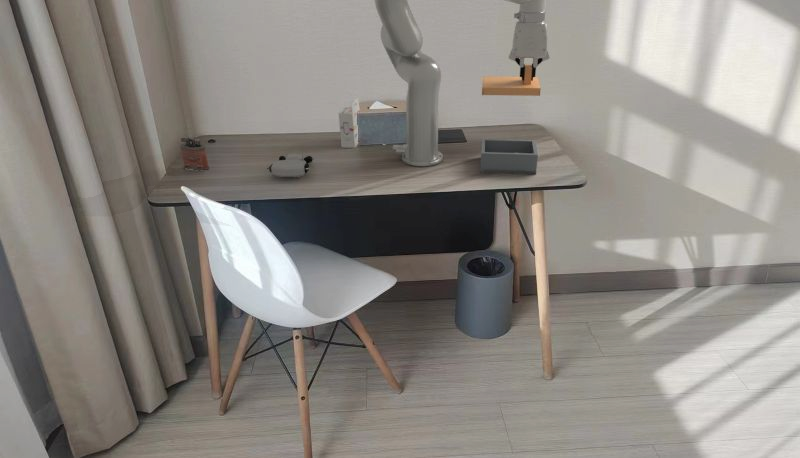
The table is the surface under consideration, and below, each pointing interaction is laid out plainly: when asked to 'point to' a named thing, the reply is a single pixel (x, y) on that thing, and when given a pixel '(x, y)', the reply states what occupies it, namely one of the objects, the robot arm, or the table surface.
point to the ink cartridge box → (349, 125)
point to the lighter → (194, 154)
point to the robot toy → (291, 166)
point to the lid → (511, 84)
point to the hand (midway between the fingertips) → (527, 79)
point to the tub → (508, 156)
